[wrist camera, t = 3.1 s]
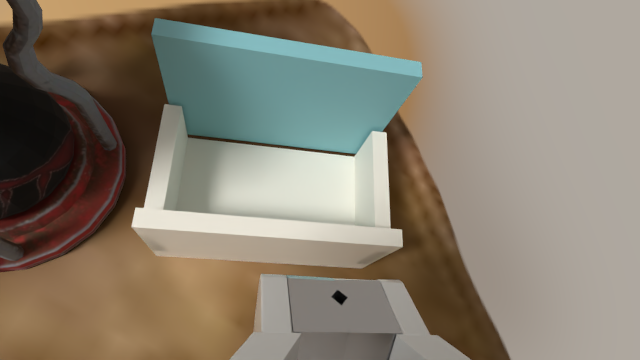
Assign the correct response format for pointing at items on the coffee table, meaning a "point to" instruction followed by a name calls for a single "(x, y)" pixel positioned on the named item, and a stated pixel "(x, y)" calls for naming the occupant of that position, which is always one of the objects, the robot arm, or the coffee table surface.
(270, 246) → the white open box
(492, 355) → the coffee table surface
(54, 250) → the hourglass
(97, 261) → the coffee table surface
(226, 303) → the coffee table surface
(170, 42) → the box lid
